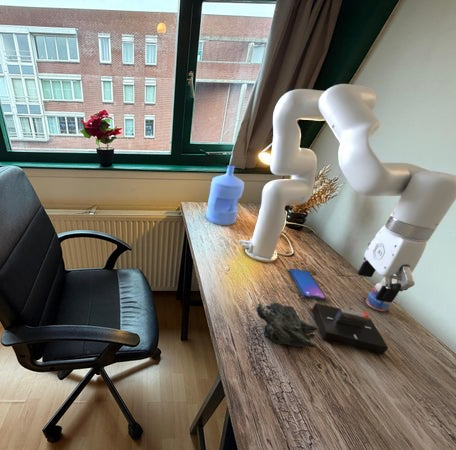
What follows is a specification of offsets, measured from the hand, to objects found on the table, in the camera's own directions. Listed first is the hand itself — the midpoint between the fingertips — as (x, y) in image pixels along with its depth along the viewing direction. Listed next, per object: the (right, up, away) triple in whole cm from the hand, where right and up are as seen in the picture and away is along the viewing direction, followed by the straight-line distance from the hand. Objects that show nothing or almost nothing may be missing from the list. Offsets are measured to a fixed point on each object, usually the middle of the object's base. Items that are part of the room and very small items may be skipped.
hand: (372, 287), depth 62 cm
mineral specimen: (-21, -14, +4) cm, 26 cm away
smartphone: (-3, -5, +24) cm, 25 cm away
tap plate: (-2, -14, +7) cm, 16 cm away
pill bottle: (+16, -10, +17) cm, 25 cm away
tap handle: (-2, -11, +6) cm, 13 cm away
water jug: (-21, +19, +67) cm, 73 cm away
